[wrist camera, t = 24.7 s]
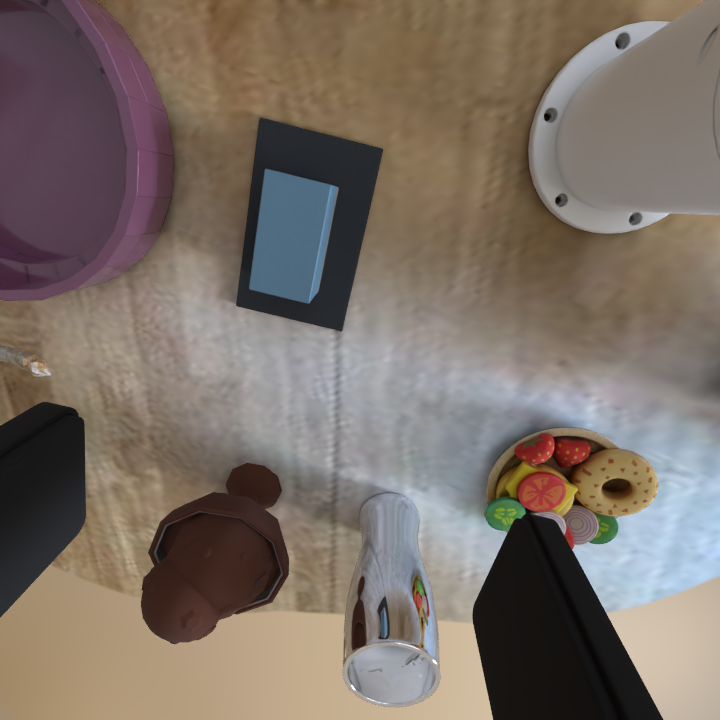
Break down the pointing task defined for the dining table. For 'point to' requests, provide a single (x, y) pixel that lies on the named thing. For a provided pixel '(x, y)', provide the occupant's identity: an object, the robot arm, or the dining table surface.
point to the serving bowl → (76, 149)
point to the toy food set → (569, 483)
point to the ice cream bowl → (216, 558)
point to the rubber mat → (356, 186)
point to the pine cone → (24, 361)
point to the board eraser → (292, 236)
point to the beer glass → (390, 610)
